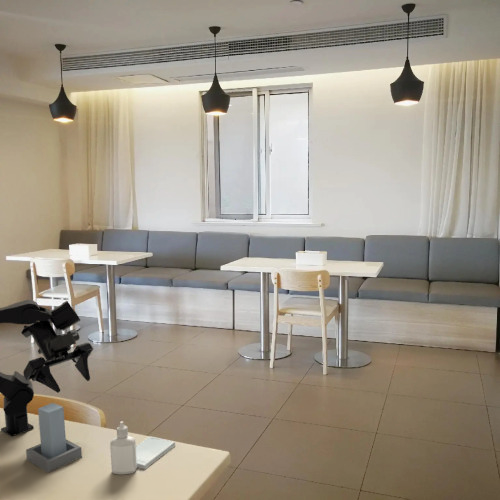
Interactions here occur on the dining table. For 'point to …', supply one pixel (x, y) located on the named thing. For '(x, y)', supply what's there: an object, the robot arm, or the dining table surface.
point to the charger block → (52, 430)
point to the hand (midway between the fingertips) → (74, 385)
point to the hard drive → (151, 451)
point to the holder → (55, 462)
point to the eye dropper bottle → (123, 452)
